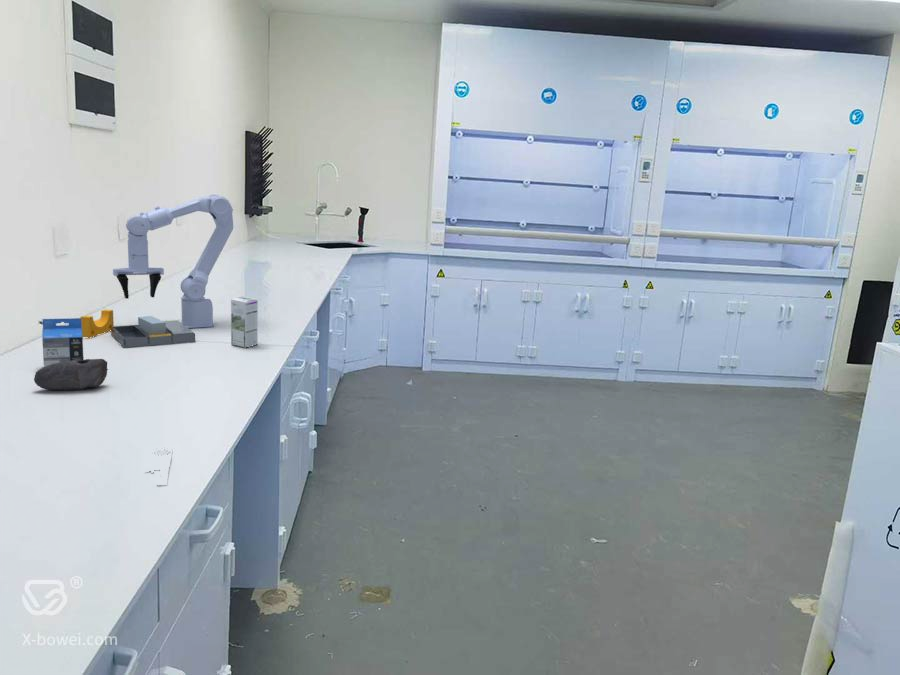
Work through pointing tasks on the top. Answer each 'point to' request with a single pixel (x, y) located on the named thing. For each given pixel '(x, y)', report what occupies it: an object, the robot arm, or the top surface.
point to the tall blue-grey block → (151, 325)
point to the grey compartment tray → (138, 338)
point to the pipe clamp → (97, 324)
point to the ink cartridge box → (62, 340)
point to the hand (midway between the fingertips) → (139, 297)
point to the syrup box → (244, 321)
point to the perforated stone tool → (72, 375)
